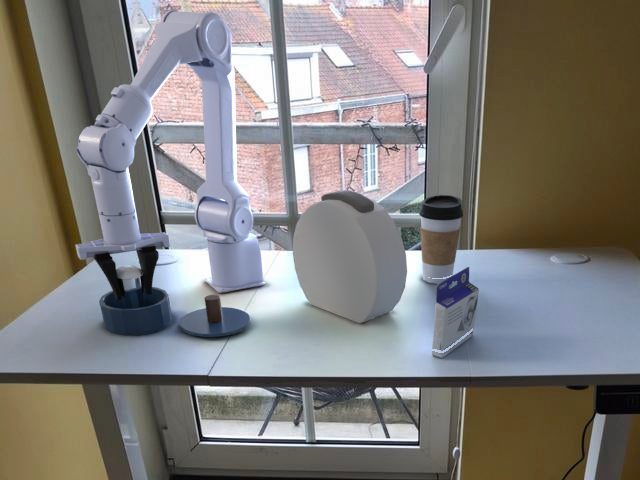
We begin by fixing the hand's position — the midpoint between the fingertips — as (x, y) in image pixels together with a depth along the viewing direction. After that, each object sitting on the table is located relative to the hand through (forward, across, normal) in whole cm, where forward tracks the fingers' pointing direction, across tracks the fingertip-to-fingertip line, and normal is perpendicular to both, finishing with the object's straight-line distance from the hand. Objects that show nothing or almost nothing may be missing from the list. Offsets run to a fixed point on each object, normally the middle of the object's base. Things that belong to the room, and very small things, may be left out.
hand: (133, 295), depth 124 cm
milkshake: (+5, 0, 0) cm, 5 cm away
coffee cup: (+5, +58, -7) cm, 59 cm away
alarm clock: (+5, +35, -12) cm, 37 cm away
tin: (+5, 0, 0) cm, 5 cm away
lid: (+4, +11, -8) cm, 14 cm away
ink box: (+5, +42, -35) cm, 55 cm away
